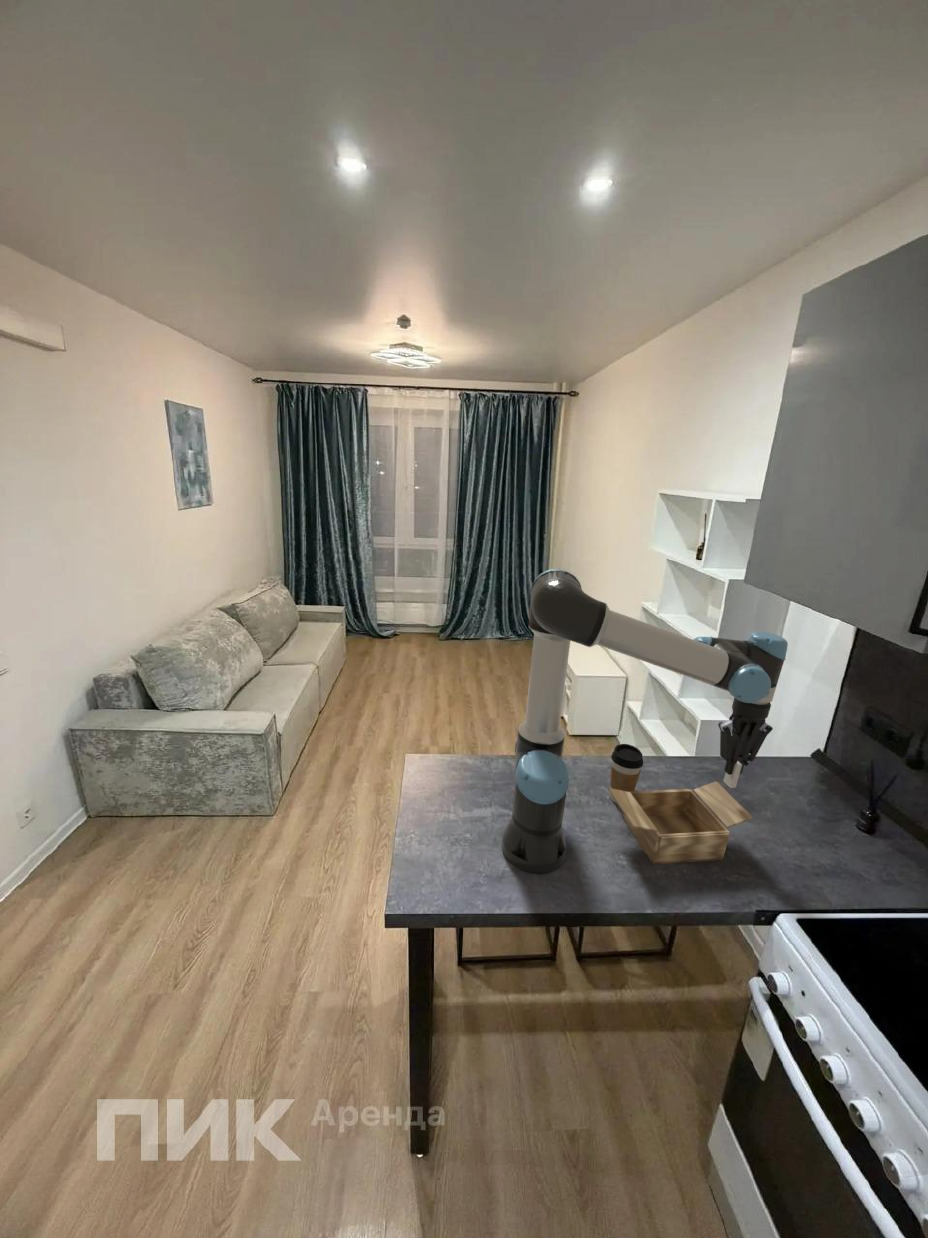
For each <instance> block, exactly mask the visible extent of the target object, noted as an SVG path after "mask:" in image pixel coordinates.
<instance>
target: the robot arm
mask: <svg viewBox="0 0 928 1238" xmlns="http://www.w3.org/2000/svg"><path fill="white" fill-rule="evenodd" d="M529 596H530V604H529V605H530V606H529V618H528V629H529V630H530V631H531V632H532V633H533V642H532V650H531V651H532V652H531V662H530V669H529V670H530V671H529V681H528V692H527V701H526V710H525V718H524V719H525V720H524V721H522V722H521V723H520V724H519V726H518V729H517V738H516V742H515V745H514V747H515V748H514V752H515V770H514V772H515V777H514V791H513V793H514V795H513V804H512V811H511V812H512V814H511V817H510V819H509V821H508V823H507V825H506V827H505V829H504V831H503V833H502V837H501V838H502V840H501V849H502V853H503V855H504V857H505V858H506V859H507V860H508V861H509V862H510V863H511V865H513V866H515V867H516V868H518V869H519V870H522V871H524V872H525V871H526V872H527V873H534V874H546V873H551V872H553V871H556V870H557V869H559V868H560V867H561V866H562V865H563V863H564V862H565V860H566V854H567V853H566V852H567V842H566V839H565V835H564V830H563V819H564V812H565V807H566V806H565V805H566V798H567V791H568V789H569V784H570V783H569V782H570V778H569V777H570V776H569V769H568V766H567V764H566V763H565V761H564V760H563V753H564V746H565V745H564V744H565V737H566V733H565V730H564V729H563V728H562V726H561V721H562V720H561V718H562V711H563V703H564V694H565V689H566V688H565V687H566V680H567V679H566V677H567V669H568V663H569V655H570V654H569V653H570V648H571V647H570V646H571V642H572V643H573V642H574V643H577V644H579V645H582V646H585V647H587V648H592V647H594V646H600V647H602V648H606V649H608V650H612V651H613V652H617V653H619V654H623V655H625V656H628V657H631V658H633V659H637V660H638V661H643V662H645V663H649V664H650V665H653V666H656V667H660V668H662V669H665V670H668V671H670V672H674V673H676V674H678V675H680V676H681V675H682V676H684V677H687V678H690V679H692V680H695V681H698V682H702V683H705V684H707V685H710V686H713V687H716V688H717V689H721V690H724V691H727V692H729V695H731V696H732V697H733V702H732V705H731V709H732V713H731V715H730V716H729V718H728V720H727V721H725V722H722V721H720V722H718V725H717V726H718V728H719V730H720V731H719V732H720V736H719V737H720V742H719V746H720V749H719V755H720V757H721V758H722V759H723V760H724V761H725V766H724V772H725V774H724V777H723V780H722V781H723V782H724V784H726V785H727V786H728V787H729V788H730V789H732V788H733V789H735V788H737V784H738V780H739V776H740V775H741V774H742V773H743V771H744V766H745V767H747V766H749V765H750V764H749V762H754V760H755V758H756V757H757V755H758V753H759V751H760V749H761V747H762V746H763V744H764V741H765V740H766V738H767V737H768V735H769V734H770V733H771V732H772V731H773V729H774V728H773V726H771V724H770V725H769V724H768V723H767V722H766V719H767V718H768V717H769V715H770V711H771V707H772V704H771V703H772V702H773V701H774V700H773V699H774V695H775V692H776V689H777V686H778V682H779V679H780V676H781V672H782V669H783V666H784V662H785V661H786V656H787V652H788V641H787V640H786V639H785V638H784V637H782V635H781V636H780V635H778V634H774V633H771V632H766V631H755V632H752V633H751V635H750V636H749V638H748V640H740V639H731V638H729V639H728V638H722V637H721V638H719V637H714V636H697V637H695V638H694V639H692V638H689V637H687V636H685V635H684V636H683V635H682V634H678V633H676V632H672V631H670V630H667V629H664V628H662V627H658V626H655V625H653V624H651V623H647V622H645V621H642V620H640V619H637V618H634V617H631V616H628V615H625V614H622V613H619V612H617V611H614V610H611V609H610V607H609V605H608V603H606V602H603V601H601V600H598V599H596V598H594V597H592V596H590V595H589V594H587V593H585V592H584V590H583V589H582V585H581V581H579V579H578V578H577V576H575V575H574V573H573V574H572V573H571V572H569V571H567V570H565V569H560V568H551V569H548V570H545V571H543V572H542V573H540V574H539V575H537V577H536V578H535V579H534V580H533V583H532V584H531V587H530V592H529Z"/></svg>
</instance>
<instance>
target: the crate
mask: <svg viewBox="0 0 928 1238" xmlns="http://www.w3.org/2000/svg"><path fill="white" fill-rule="evenodd" d="M630 793H631V794H632V795H633V797H634V798H635V800H636V801H637V802H638V804H639V805H640V806H641V808H642V809H643V811H644V812H645V813H646V815H647V816H648V818H649V819H650V820H651V822H652V823H653V825H654V826H655V827H656V829H657V830H658V831H657V832H655V831H650V830H645V829H640V828H635V827H632V825H631V823H630V822H629V820H628V819H627V817H626V816H625V814H624V813H623V816H622V819H623V821H624V822H625V823H626V825H627V827H628V829H629V830H630V831H631V833H632V834H633V836H634V838H635V839H636V841H637V842H638V844H639V845H640V847H641V848H642V850H643V851H644V853H645V855H646V856H647V858H648V859H649V861H650V863H652V865H665V864H680V863H681V864H683V863H695V862H696V863H697V862H710V861H711V862H713V861H723V860H724V857H725V852H726V849H727V845H728V843H729V839H730V834H731V831H730V830H728V829H729V828H727V827H726V826H725V825H724V824H723V822H722V821H721V820H720V819H719V818H718V817H717V816H716V815H715V814H714V813H713V811H712V810H711V809H710V808H709V807H708V806H707V805H706V804H705V803H704V802H703V801H702V799H701V798H700V797H699V796H698V795H697V794H696V793H695V792H694V790H692V789H689V788H681V789H680V788H679V789H677V788H676V789H660V790H658V789H657V790H656V789H655V790H638V791H637V790H634V791H630Z"/></svg>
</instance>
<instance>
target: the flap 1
mask: <svg viewBox="0 0 928 1238" xmlns="http://www.w3.org/2000/svg"><path fill="white" fill-rule="evenodd" d="M607 790H608V791H609V794H610V793H611V795H612V796H613V798H614V799H615V801H616V802H617V803H616V804H617V805H618V807H619V808H620V810H621V811H622V813H623V814H625V816H626V817H627V819H628V820H629V822H630V823H631V825H632V827H635V828H640V829H645V830H650V831H655V832H657V831H658V830H657V829H656V827H655V826H654V825H653V823H652V822H651V820H650V819H649V818H648V816H647V815H646V813H645V812H644V811H643V809H642V808H641V806H640V805H639V804H638V802H637V801H636V800H635V798H634V797H633V795H632V794H631V793H630V792H626V791H622V790H617V789H612V788H610V787H607Z"/></svg>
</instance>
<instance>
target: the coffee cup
mask: <svg viewBox="0 0 928 1238" xmlns="http://www.w3.org/2000/svg"><path fill="white" fill-rule="evenodd" d="M610 758H611V759H612V760H611V761H612V762H611V765H610V767H611V768H610V783H609V788H612V789H617V790H622V791H626V792H630V791H636V786H637V783H638V781H639V777H640V774H641V768H642V767H643V766H644V759H643V753H642V752H641V750H640V749H639V748H637V747H636V746H635V745H632V744H628V743H619V744H617V745H616V746H615V747H614V750H613V752H612V753H611V756H610ZM609 798H610V800H611V801H612V802H613V803H615V804H617V802H616V801H615V799H614V798H613V796H612V795H611V793H610V792H609Z"/></svg>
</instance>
